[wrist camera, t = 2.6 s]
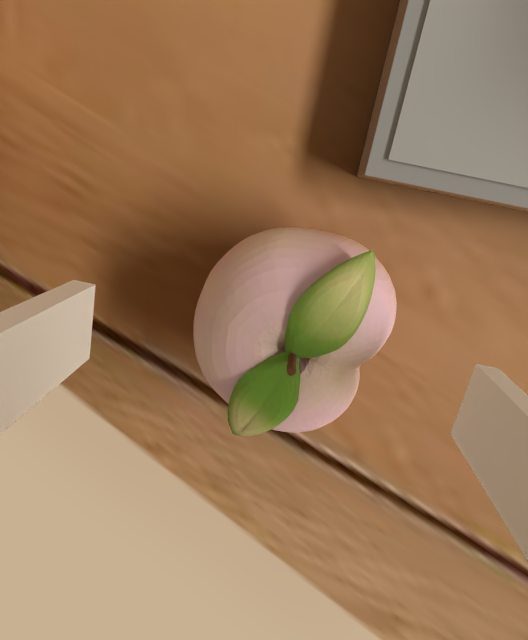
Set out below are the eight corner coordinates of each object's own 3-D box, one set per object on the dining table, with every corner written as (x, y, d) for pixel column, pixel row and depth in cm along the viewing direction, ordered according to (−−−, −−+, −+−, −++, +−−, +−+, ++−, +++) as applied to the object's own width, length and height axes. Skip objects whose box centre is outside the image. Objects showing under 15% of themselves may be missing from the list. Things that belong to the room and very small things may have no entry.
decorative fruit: (256, 187, 23) (225, 186, 14) (397, 252, 24) (462, 297, 14) (191, 340, 26) (128, 429, 16) (318, 397, 26) (329, 516, 17)
